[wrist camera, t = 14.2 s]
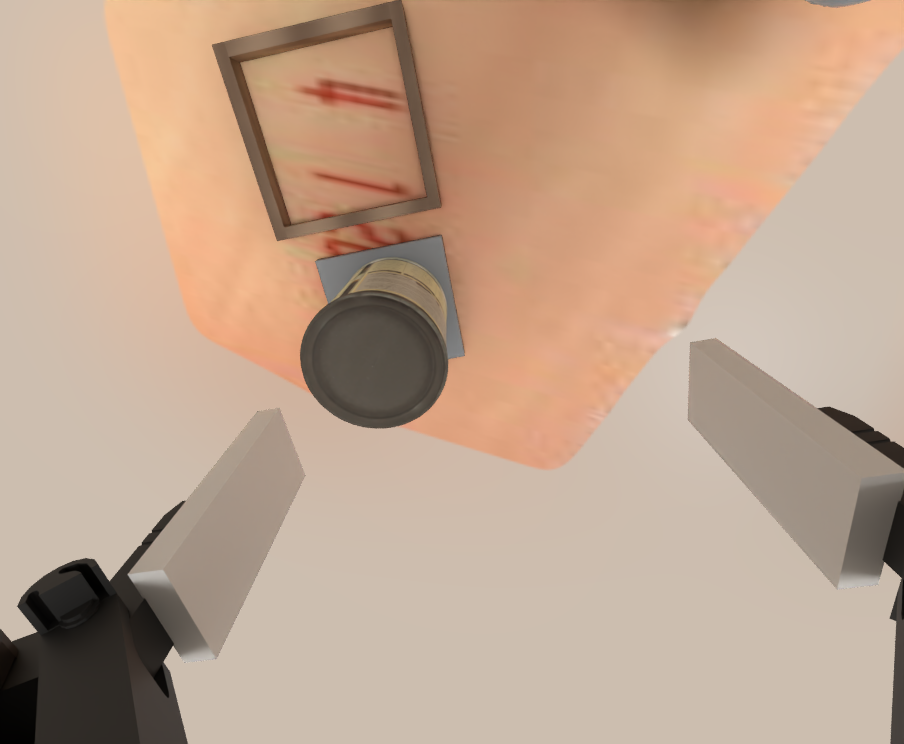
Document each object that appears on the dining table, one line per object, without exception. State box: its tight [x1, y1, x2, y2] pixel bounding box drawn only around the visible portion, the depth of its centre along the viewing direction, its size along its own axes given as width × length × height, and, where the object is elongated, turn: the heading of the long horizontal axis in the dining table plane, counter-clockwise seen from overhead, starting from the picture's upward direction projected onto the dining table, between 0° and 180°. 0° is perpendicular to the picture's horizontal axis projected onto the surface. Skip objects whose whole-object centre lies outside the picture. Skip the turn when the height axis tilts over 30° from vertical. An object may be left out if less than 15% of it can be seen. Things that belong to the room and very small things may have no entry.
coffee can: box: [300, 257, 448, 428], centre depth 39 cm, size 10×10×14 cm
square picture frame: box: [212, 0, 441, 241], centre depth 39 cm, size 15×15×2 cm
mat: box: [315, 235, 465, 359], centre depth 46 cm, size 12×12×1 cm
